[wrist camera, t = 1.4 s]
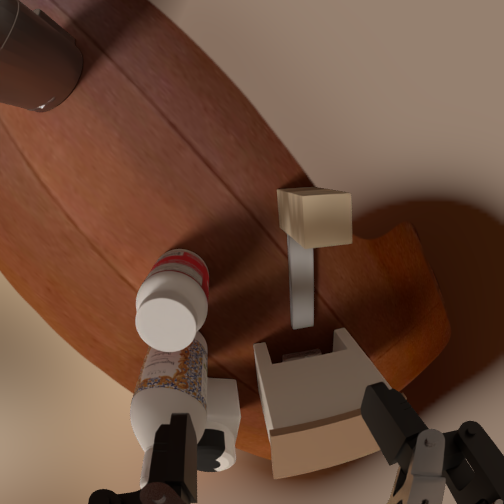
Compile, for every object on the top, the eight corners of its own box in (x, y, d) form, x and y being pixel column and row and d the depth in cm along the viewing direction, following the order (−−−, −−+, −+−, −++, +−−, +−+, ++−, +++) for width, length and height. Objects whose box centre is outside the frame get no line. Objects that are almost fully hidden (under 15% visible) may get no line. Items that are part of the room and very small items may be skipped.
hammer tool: (276, 189, 29) (302, 196, 20) (313, 186, 29) (351, 193, 20) (284, 325, 33) (305, 371, 24) (316, 320, 33) (344, 362, 25)
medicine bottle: (182, 408, 35) (177, 474, 24) (182, 373, 33) (175, 445, 22) (230, 412, 36) (237, 478, 25) (236, 378, 34) (246, 449, 23)
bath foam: (197, 315, 31) (186, 469, 12) (214, 361, 33) (221, 505, 14) (143, 326, 31) (93, 466, 12) (164, 370, 33) (141, 505, 14)
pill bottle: (190, 310, 31) (180, 372, 20) (144, 281, 29) (113, 333, 19) (220, 267, 30) (223, 317, 20) (173, 235, 29) (149, 271, 18)
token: (281, 352, 35) (283, 359, 33) (318, 346, 35) (321, 352, 34) (282, 380, 36) (284, 387, 35) (316, 373, 37) (319, 380, 35)
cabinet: (249, 341, 33) (270, 436, 19) (347, 324, 34) (406, 398, 20) (255, 391, 35) (274, 479, 21) (342, 374, 37) (386, 447, 22)
